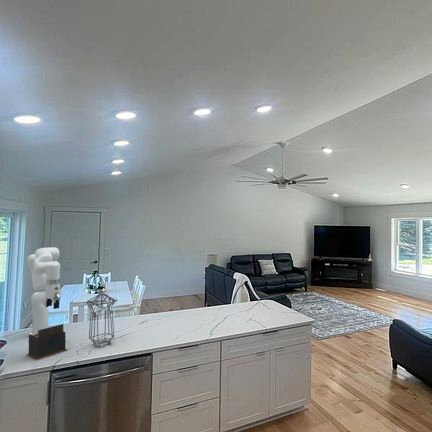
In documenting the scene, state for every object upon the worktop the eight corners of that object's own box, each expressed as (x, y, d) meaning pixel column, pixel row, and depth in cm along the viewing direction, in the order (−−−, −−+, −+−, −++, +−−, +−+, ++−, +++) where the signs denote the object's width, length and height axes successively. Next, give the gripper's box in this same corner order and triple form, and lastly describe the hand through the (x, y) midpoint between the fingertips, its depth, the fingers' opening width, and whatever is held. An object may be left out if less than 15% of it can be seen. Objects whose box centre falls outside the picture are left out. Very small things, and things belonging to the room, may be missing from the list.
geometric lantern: (93, 350, 215) (93, 297, 215) (84, 344, 225) (85, 293, 226) (118, 343, 227) (118, 292, 227) (109, 338, 237) (109, 289, 238)
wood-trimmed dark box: (27, 355, 208) (27, 336, 208) (56, 346, 222) (56, 328, 222) (38, 360, 201) (38, 340, 201) (67, 350, 215) (67, 332, 215)
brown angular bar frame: (63, 332, 215) (63, 324, 215) (38, 339, 203) (38, 330, 203) (53, 328, 222) (53, 321, 222) (28, 335, 210) (28, 327, 210)
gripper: (65, 282, 219) (65, 308, 219) (52, 279, 228) (52, 304, 228) (53, 284, 212) (52, 310, 213) (40, 281, 221) (40, 306, 221)
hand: (52, 307), depth 220 cm, fingers open, 9 cm apart
